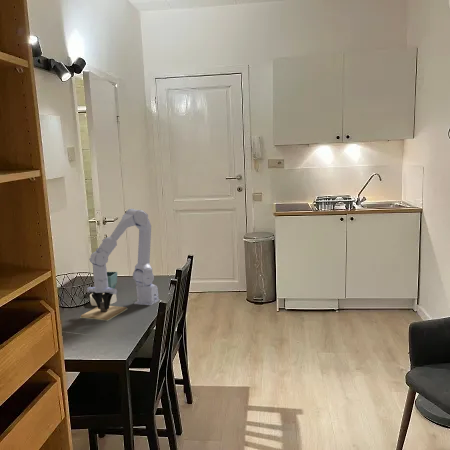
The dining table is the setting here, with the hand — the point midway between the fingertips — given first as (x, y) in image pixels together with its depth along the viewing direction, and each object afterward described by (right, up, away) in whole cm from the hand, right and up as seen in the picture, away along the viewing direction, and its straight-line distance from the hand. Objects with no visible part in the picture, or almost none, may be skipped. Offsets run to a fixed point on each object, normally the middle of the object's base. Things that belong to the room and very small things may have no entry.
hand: (103, 308), depth 210 cm
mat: (0, -2, 0) cm, 2 cm away
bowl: (-4, 0, +16) cm, 17 cm away
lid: (0, -2, 0) cm, 2 cm away
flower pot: (-7, +3, +35) cm, 36 cm away
